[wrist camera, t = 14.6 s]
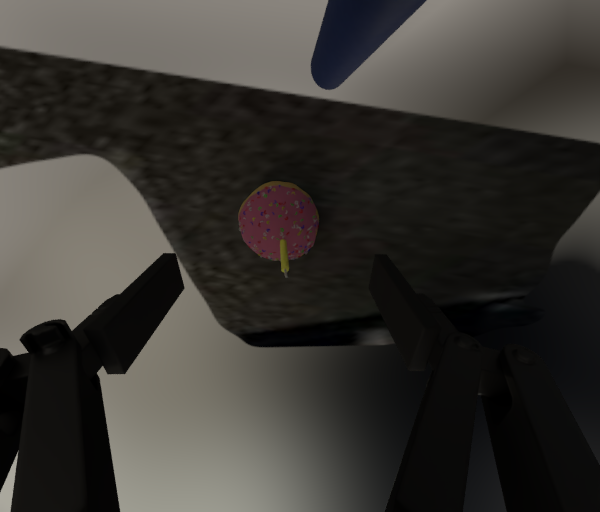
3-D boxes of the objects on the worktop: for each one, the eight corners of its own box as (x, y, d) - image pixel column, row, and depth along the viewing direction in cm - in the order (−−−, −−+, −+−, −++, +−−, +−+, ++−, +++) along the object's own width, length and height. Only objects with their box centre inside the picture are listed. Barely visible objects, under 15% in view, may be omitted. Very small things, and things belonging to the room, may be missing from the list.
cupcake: (325, 228, 30) (344, 279, 20) (266, 252, 31) (254, 313, 21) (298, 162, 26) (303, 181, 16) (232, 193, 28) (196, 230, 17)
